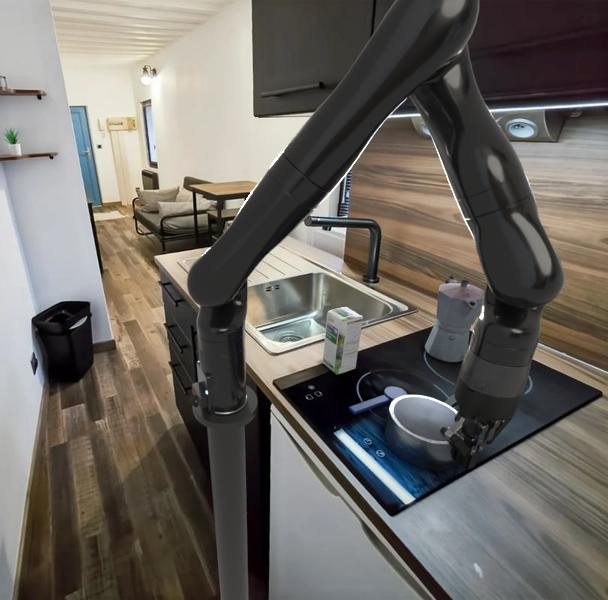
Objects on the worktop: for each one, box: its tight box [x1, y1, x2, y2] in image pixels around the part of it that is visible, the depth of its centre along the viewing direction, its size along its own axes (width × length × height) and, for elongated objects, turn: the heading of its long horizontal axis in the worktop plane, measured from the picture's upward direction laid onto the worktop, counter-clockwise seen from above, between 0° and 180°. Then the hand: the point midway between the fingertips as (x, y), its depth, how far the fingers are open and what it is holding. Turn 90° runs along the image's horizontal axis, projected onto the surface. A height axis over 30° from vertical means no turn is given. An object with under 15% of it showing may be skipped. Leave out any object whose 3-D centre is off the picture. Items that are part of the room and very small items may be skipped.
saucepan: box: [384, 394, 458, 471], centre depth 67 cm, size 19×12×6 cm, turn 122°
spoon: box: [348, 386, 409, 415], centre depth 76 cm, size 14×4×1 cm, turn 110°
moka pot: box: [424, 275, 485, 363], centre depth 87 cm, size 10×15×20 cm, turn 172°
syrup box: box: [322, 306, 364, 375], centre depth 85 cm, size 6×6×14 cm
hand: (464, 464), depth 60 cm, fingers closed
